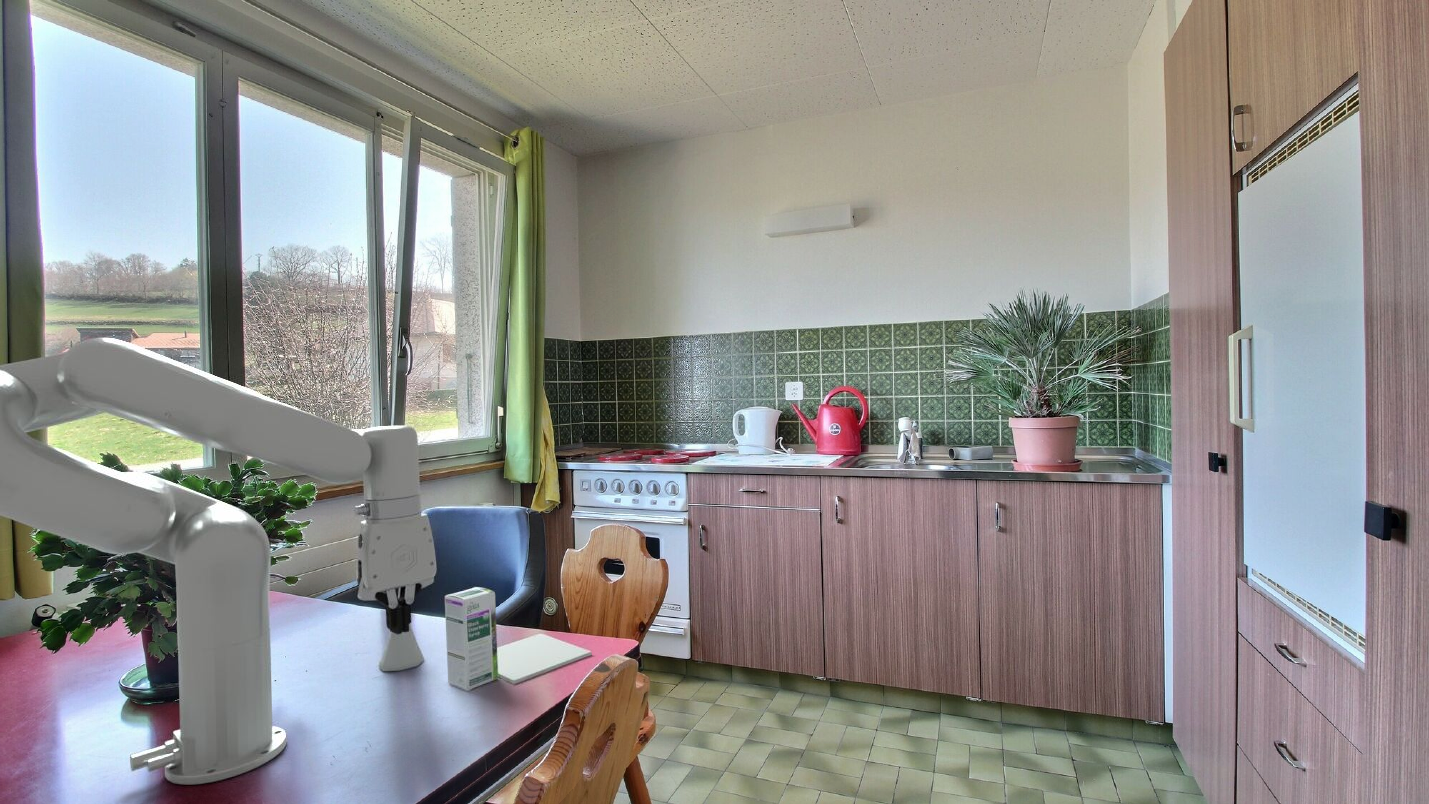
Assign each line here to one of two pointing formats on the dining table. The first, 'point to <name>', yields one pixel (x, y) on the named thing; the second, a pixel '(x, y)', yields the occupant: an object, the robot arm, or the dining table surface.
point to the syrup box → (471, 638)
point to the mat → (535, 657)
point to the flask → (401, 652)
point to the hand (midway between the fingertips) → (399, 631)
